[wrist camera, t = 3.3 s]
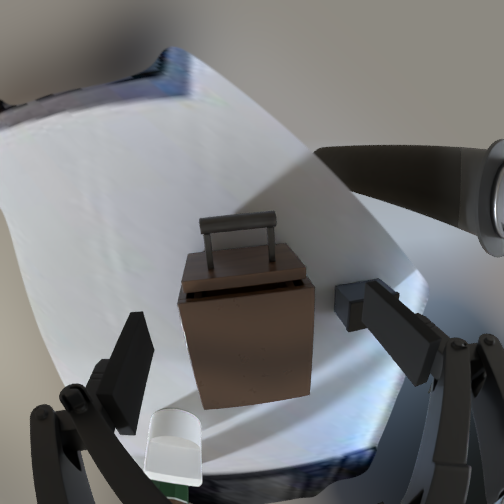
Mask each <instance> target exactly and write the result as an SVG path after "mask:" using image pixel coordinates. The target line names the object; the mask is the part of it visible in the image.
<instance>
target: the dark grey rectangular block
mask: <svg viewBox="0 0 504 504" xmlns="http://www.w3.org/2000/svg"><path fill="white" fill-rule="evenodd" d="M371 281H377V282H378V283H380V284H381V285H382V286H383V287H384V288H385V289H387V290H388V291H389V292H390V293H391V294H392V295H394V296H395V297H396V298H397V299H398V300H399V293H398V292H395V291H394V290H393V289H392V288H390V287H389V286H388V285H387V284H386V283H384V282H383V281H382V280H381V279H374V280H368V281H363V282H357V283H351V284H345V285H338V286H336V288H335V306H334V312H335V313H336V315H337V316H338V317H339V319H340V320H341V321H342V323H343V324H344V325H345V327H346V330H347V331H348V332H352V331H356V330H361V329H365V328H367V327H366V326H365V324H364V323H363V322H362V312H363V303H364V293H365V282H371Z"/></svg>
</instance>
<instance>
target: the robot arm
mask: <svg viewBox="0 0 504 504" xmlns="http://www.w3.org/2000/svg"><path fill="white" fill-rule="evenodd" d="M490 217H491V223H492V227H493V229H494V232H495V233H496V235H497V236H498V237H500V238H502V239H504V162H503V163H502V164H501V165H500V166H499V168H498V170H497V172H496V174H495V177H494V180H493V183H492V188H491V195H490ZM362 322H363V323H364V324H365V326H366V327H367V328H368V329H369V330H370V332H371V333H372V334H373V335H374V336H375V338H376V339H377V340H378V341H379V343H380V344H381V345H382V346H383V347H384V349H385V350H386V351H387V352H388V354H389V355H390V356H391V357H392V358H393V360H394V361H395V362H396V363H397V365H398V366H399V367H400V368H401V370H402V371H403V372H404V373H405V375H406V376H407V377H408V378H409V380H410V381H411V382H412V384H413V385H414V386H415V387H416V386H418V385H421V384H423V383H425V382H427V380H428V377H429V375H430V373H431V374H432V376H433V377H434V379H433V382H432V384H431V386H430V389H429V391H428V393H430V392H431V394H430V400H429V406H428V412H427V418H426V423H425V427H424V432H423V436H422V441H421V445H420V449H419V453H418V457H417V460H416V464H415V467H414V471H413V474H412V477H411V481H410V484H409V487H408V490H407V492H406V494H405V496H404V498H403V500H402V501H401V503H400V504H465V503H466V499H467V494H468V489H469V483H470V477H471V467H470V466H468V465H467V464H466V462H467V461H466V460H467V454H468V445H469V434H470V418H471V408H472V412H473V417H474V421H475V426H476V431H477V436H478V441H479V446H480V452H481V459H482V467H483V475H484V484H485V492H486V499H487V503H488V504H504V349H503V347H502V345H501V343H500V341H499V340H498V338H497V337H495V336H494V335H491V334H482V335H481V336H480V337H479V340H478V343H473V344H468V343H467V342H466V341H465V340H463V339H460V338H449V337H448V336H447V335H446V334H445V333H444V332H443V331H441V330H440V329H439V328H438V327H437V326H435V324H434V323H431V321H430V320H429V319H428V318H427V317H425V316H423V315H421V314H419V313H416V314H414V313H413V312H412V311H411V310H410V309H409V308H408V307H406V306H405V305H404V304H403V303H402V302H401V301H399V300H398V299H397V298H396V297H395V296H394V295H392V294H391V293H390V292H389V291H388V290H387V289H385V288H384V287H383V286H382V285H381V284H380V283H378V282H377V281H371V282H365V293H364V303H363V312H362ZM153 353H154V347H153V344H152V341H151V338H150V334H149V331H148V328H147V324H146V321H145V317H144V314H143V311H142V312H131V313H130V315H129V317H128V319H127V321H126V323H125V325H124V328H123V330H122V332H121V334H120V336H119V339H118V341H117V343H116V345H115V348H114V350H113V352H112V355H111V357H110V359H101V360H100V361H99V362H98V363H97V364H96V365H95V368H94V370H93V372H92V374H91V376H90V379H89V381H88V383H87V385H86V388H85V387H84V386H83V385H81V384H71V385H68V386H66V387H65V388H64V389H63V390H62V391H61V392H60V395H59V399H60V401H61V403H62V404H63V406H64V407H65V409H66V410H62V411H56V412H55V411H54V410H53V409H52V407H51V406H50V405H46V404H43V405H39V406H37V407H36V408H35V409H33V411H32V412H31V416H30V440H31V457H32V468H33V477H34V485H35V492H36V497H37V504H95V501H94V498H93V495H92V492H91V489H90V485H89V482H88V478H87V475H86V471H85V467H84V463H83V459H82V455H81V451H82V450H88V452H89V454H90V455H91V457H92V459H93V460H94V462H95V464H96V465H97V467H98V468H99V470H100V472H101V473H102V474H103V476H104V478H105V479H106V481H107V482H108V484H109V485H110V487H111V488H112V489H113V491H114V492H115V494H116V495H117V496H118V498H119V499H120V501H121V502H122V503H123V504H173V503H172V502H171V501H170V500H169V499H168V498H167V497H166V496H165V495H164V494H163V493H162V492H161V491H160V490H159V489H158V488H157V487H156V485H155V484H154V483H153V482H152V481H151V480H150V479H149V478H148V476H147V475H146V474H145V473H144V472H143V470H142V469H141V468H140V467H139V466H138V464H137V463H136V462H135V461H134V459H133V458H132V457H131V456H130V454H129V453H128V452H127V450H126V449H125V448H124V447H123V445H122V444H121V442H120V441H119V440H118V438H117V437H116V436H115V434H114V431H115V428H116V429H117V431H118V432H119V434H120V435H136V429H137V424H138V419H139V414H140V410H141V405H142V400H143V396H144V391H145V387H146V382H147V378H148V374H149V370H150V365H151V361H152V357H153ZM378 504H384V503H383V502H381V503H378Z"/></svg>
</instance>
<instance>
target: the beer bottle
mask: <svg viewBox="0 0 504 504" xmlns="http://www.w3.org/2000/svg"><path fill="white" fill-rule="evenodd" d="M151 481H152V482H153V483H154V484H155V485H156V487H157V488H158V489H159V490H160V491H161V492H162V493H163V494H164V495H165V496H166V497H167V498H168V499H169V500H170V501H171V502H172V503H173V504H188V485H182V484H175V483H169V482H163V481H157V480H151Z"/></svg>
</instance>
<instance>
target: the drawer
mask: <svg viewBox="0 0 504 504" xmlns="http://www.w3.org/2000/svg"><path fill="white" fill-rule="evenodd" d="M199 223H200V231H201V234H204V235H203V236H204V244H205V251H206V252H200V253H191V254H188V256H187V260H186V264H185V268H184V273H183V277H182V281H181V283H182V289H183V293H191V292H195V295H194V298H203V297H212V296H221V295H230V294H238V293H247V292H255V291H263V290H271V289H278V288H286V287H293V286H295V285H294V284H293V282H292V281H293V280H300V279H306V267H305V265H304V264H303V263H302V262H301V261H300V259H299V258H298V257H297V256H296V254H295V253H294V252H293V251H292V250H291V248H290V247H289V246H288V245H287V243H282V244H275V240H274V227H275V226H276V223H277V221H276V214H275V211H265V212H254V213H244V214H234V215H225V216H216V217H207V218H200V219H199ZM266 227H267V240H268V245H263V246H254V247H245V248H236V249H227V250H218V251H212V247H211V238H210V233H218V232H227V231H237V230H246V229H256V228H266Z"/></svg>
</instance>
